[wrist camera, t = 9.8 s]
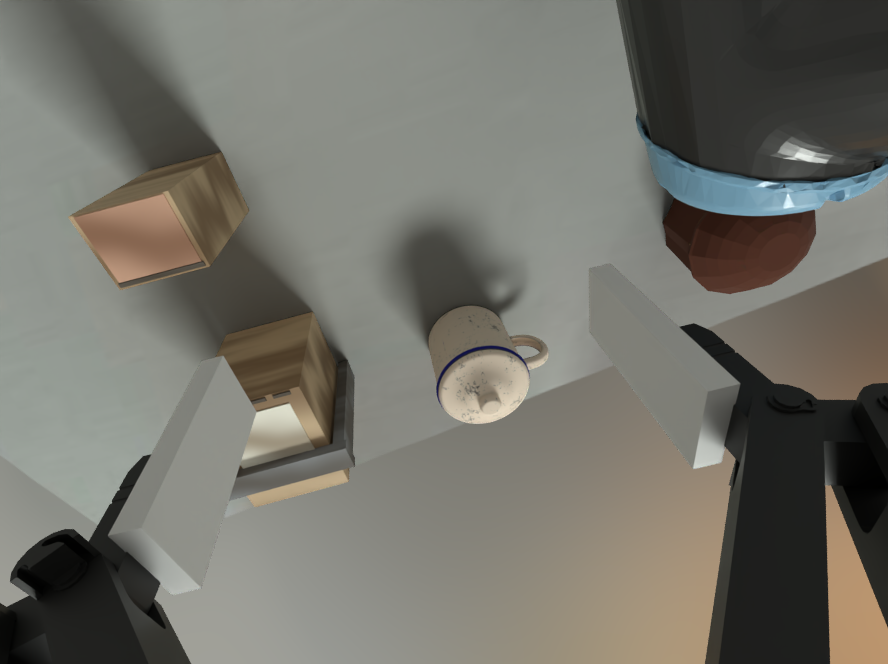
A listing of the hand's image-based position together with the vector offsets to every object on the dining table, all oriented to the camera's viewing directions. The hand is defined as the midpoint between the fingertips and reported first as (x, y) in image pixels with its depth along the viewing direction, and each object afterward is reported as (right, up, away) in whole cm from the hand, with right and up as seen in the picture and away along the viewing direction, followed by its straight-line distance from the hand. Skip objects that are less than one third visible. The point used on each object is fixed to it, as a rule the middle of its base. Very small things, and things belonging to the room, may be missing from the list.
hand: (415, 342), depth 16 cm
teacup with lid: (+5, 0, +34) cm, 34 cm away
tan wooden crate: (-15, -4, +32) cm, 36 cm away
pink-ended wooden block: (-19, +12, +21) cm, 31 cm away
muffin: (+28, +13, +30) cm, 43 cm away
